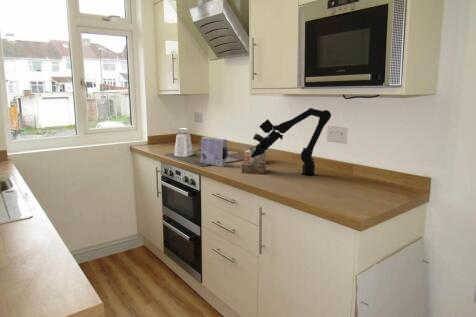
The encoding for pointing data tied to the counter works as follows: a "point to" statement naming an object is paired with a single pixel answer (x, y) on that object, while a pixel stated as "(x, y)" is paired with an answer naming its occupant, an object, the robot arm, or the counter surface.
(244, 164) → the groove block
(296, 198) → the counter surface
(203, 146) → the cake pan box
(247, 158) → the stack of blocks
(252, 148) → the mottled grey cylinder
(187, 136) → the grater
